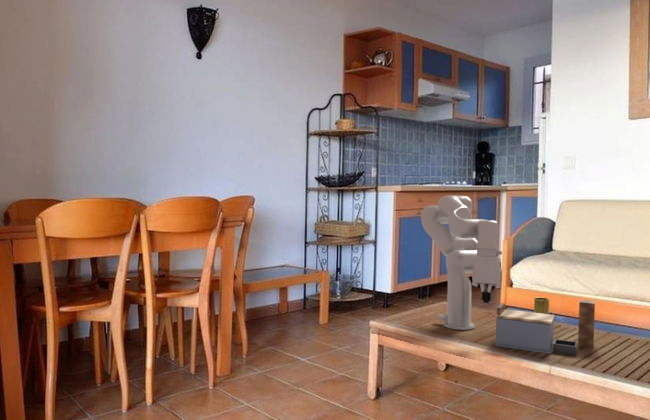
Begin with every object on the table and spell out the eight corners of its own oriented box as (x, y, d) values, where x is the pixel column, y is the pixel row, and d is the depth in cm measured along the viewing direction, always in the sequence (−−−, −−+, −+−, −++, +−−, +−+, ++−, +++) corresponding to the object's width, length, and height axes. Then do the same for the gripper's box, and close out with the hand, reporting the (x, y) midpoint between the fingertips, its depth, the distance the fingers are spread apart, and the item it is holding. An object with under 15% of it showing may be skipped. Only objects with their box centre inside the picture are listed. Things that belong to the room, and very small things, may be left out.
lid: (495, 317, 186) (495, 308, 186) (501, 310, 198) (501, 302, 197) (551, 324, 178) (551, 314, 178) (554, 317, 189) (554, 308, 189)
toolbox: (495, 345, 187) (496, 318, 187) (501, 338, 197) (502, 311, 197) (549, 353, 178) (550, 324, 178) (552, 345, 189) (553, 318, 189)
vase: (550, 337, 200) (551, 300, 200) (533, 336, 201) (535, 299, 201) (547, 333, 206) (548, 297, 206) (530, 332, 207) (532, 296, 207)
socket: (553, 352, 180) (553, 343, 180) (554, 347, 186) (555, 339, 186) (576, 355, 177) (576, 347, 176) (577, 350, 183) (577, 342, 183)
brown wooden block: (577, 345, 189) (579, 302, 189) (578, 342, 193) (579, 299, 193) (593, 347, 187) (594, 303, 186) (593, 344, 191) (594, 301, 191)
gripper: (509, 253, 193) (508, 303, 193) (469, 251, 200) (468, 299, 201) (506, 255, 187) (505, 306, 187) (464, 253, 194) (463, 302, 194)
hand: (486, 302), depth 194 cm, fingers closed
